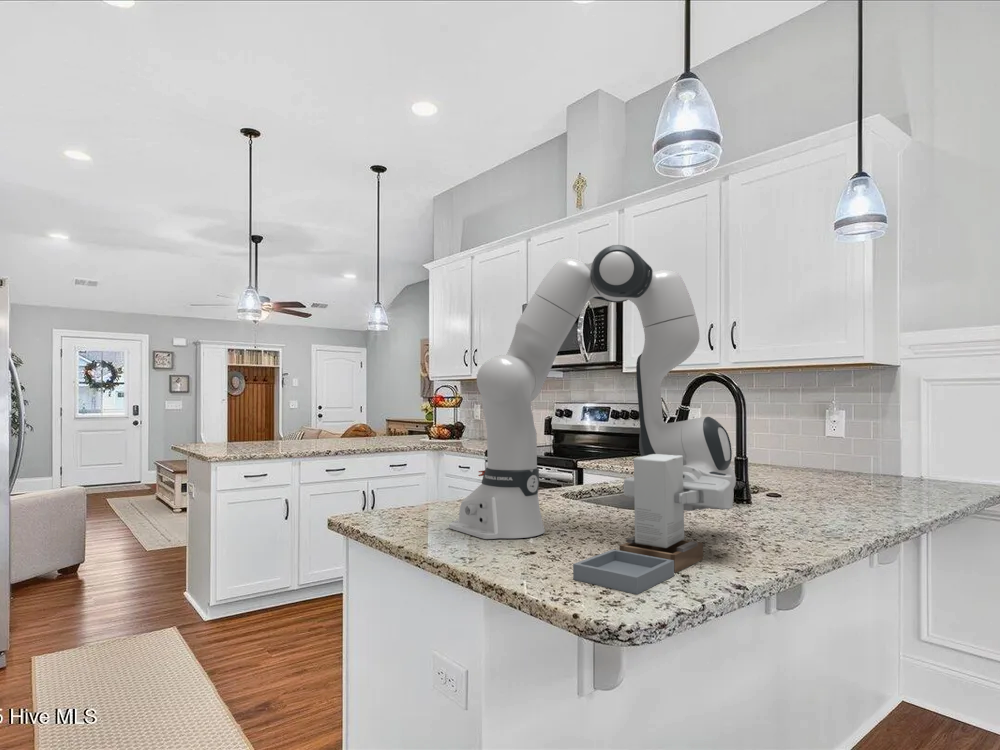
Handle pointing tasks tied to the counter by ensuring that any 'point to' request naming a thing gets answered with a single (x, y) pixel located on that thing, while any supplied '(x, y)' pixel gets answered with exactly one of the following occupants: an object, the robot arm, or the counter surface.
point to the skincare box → (658, 500)
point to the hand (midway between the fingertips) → (657, 496)
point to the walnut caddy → (669, 552)
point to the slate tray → (624, 571)
